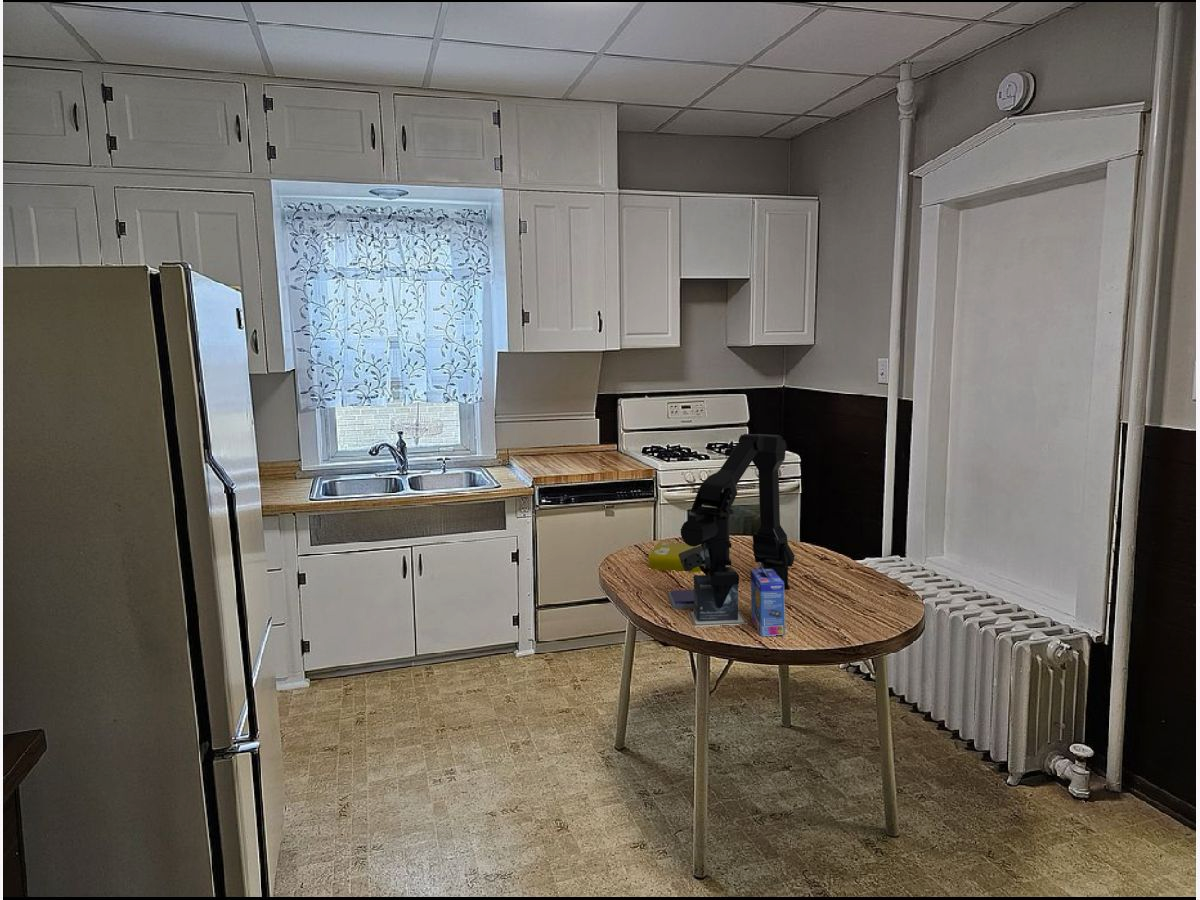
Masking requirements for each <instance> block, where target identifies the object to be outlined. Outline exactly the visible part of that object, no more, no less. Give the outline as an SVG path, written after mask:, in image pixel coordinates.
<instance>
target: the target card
mask: <svg viewBox="0 0 1200 900" xmlns="http://www.w3.org/2000/svg"><path fill="white" fill-rule="evenodd" d="M687 614H688V617H689V618H690V621H691V623H692V626H693V627H694V628H701V627H702V628H703V627H722V625H729V626H740V625H739V624H748V621H747V620H746V618H745V617H744V616H743V614H742V612H741V611H740V609H739V608H738V620H719V621H698V620H697V618H696V616H695V614H694V610H687ZM720 625H721V626H720Z"/></svg>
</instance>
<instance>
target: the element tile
mask: <svg viewBox="0 0 1200 900" xmlns="http://www.w3.org/2000/svg"><path fill="white" fill-rule="evenodd" d="M698 546H701V544H700V545H698ZM698 546H694V547H698ZM694 547H692V546H689V545H687V544H686V543H681V542H680V543H678V542H658V543H657V544H655V546H654V547H653V549H652V550H651V551H650V552H649V554H648V558H647V559H648V560H647V561H648V569H649V568H651V569H660V570H659V571H663V570H675V571H674V572H679V571H685V570H684V568H683V566H682V564H681V561H680V558H679V556H678V555H679V554H680V553H682V552H684V551H687V550H689V549H692V548H694ZM701 566H703V565H701ZM651 569H650V570H651ZM701 572H702V571H701V569H700V568H699V566H698V567H696V568H693V569H692V570H690V571H688V572H687V573H701Z"/></svg>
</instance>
